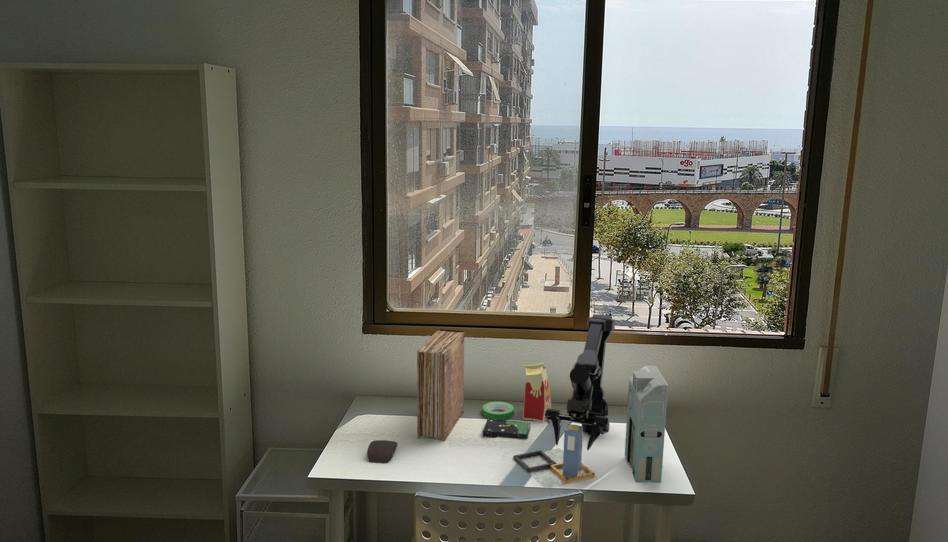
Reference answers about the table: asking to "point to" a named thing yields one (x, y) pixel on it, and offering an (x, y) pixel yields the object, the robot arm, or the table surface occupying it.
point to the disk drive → (506, 429)
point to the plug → (572, 450)
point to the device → (646, 424)
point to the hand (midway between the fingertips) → (572, 447)
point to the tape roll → (498, 406)
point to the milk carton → (536, 393)
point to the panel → (550, 468)
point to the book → (440, 384)
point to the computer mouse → (381, 451)
